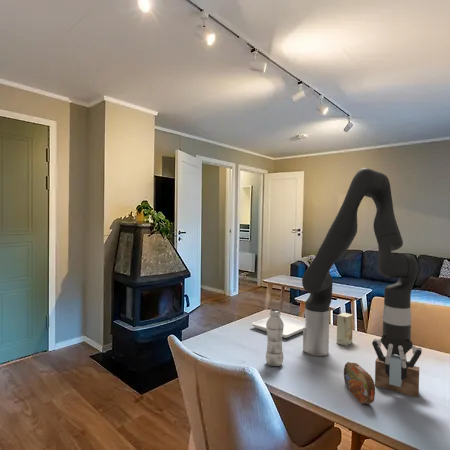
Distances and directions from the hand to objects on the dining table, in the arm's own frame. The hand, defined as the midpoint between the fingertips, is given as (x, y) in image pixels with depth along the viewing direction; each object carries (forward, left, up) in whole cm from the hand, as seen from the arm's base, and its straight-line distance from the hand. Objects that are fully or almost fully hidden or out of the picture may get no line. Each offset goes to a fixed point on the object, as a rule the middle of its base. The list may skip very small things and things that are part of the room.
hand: (395, 377), depth 100 cm
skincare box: (-23, +35, -6) cm, 42 cm away
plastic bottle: (-39, -1, -6) cm, 40 cm away
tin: (-9, -6, -6) cm, 13 cm away
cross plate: (0, +5, -2) cm, 5 cm away
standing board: (0, +5, -6) cm, 7 cm away
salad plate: (-52, +35, -6) cm, 63 cm away
